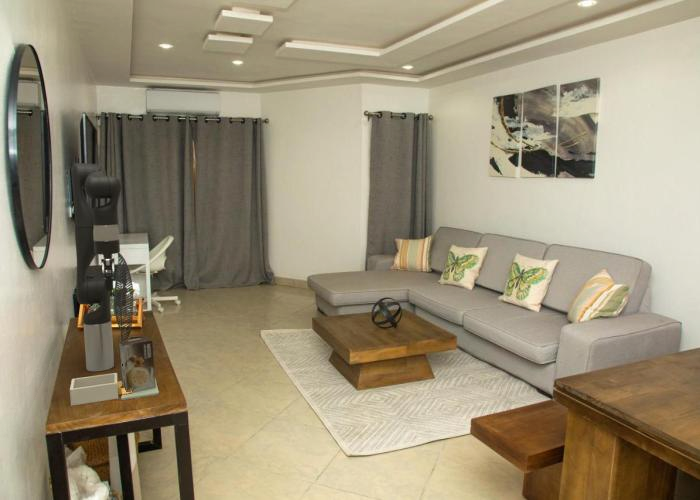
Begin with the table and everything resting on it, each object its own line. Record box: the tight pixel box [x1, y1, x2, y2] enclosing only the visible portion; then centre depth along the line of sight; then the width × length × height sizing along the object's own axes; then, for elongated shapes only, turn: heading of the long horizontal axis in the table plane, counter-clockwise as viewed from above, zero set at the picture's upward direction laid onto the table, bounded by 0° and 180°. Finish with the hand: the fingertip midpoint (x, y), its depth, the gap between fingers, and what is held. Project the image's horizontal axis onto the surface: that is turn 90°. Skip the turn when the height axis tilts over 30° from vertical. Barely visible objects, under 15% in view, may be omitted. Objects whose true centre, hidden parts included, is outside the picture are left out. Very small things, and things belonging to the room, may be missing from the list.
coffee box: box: [118, 336, 156, 392], centre depth 173 cm, size 9×6×16 cm
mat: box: [120, 377, 160, 401], centre depth 174 cm, size 14×11×1 cm
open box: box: [69, 372, 119, 407], centre depth 169 cm, size 10×13×5 cm
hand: (109, 288), depth 174 cm, fingers open, 8 cm apart
